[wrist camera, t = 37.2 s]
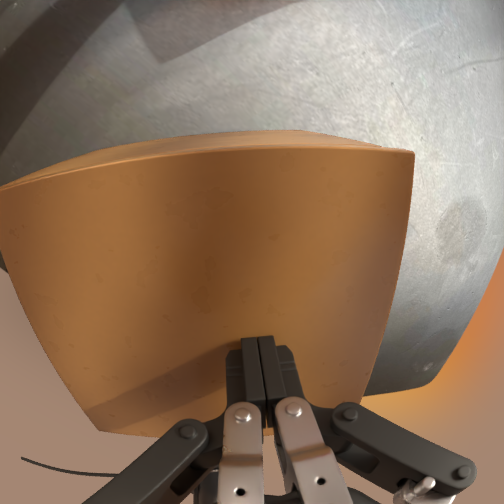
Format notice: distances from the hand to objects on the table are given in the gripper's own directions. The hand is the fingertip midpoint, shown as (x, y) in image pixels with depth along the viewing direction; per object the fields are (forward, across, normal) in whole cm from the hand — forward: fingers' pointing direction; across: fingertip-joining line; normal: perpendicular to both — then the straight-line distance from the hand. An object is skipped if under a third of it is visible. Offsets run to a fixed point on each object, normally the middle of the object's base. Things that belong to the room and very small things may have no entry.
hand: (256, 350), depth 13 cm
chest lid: (+1, +3, 0) cm, 3 cm away
